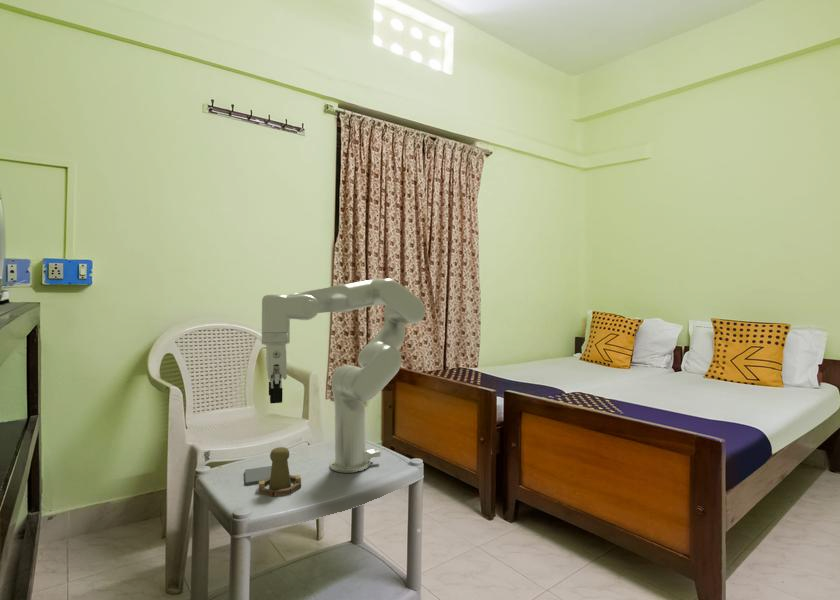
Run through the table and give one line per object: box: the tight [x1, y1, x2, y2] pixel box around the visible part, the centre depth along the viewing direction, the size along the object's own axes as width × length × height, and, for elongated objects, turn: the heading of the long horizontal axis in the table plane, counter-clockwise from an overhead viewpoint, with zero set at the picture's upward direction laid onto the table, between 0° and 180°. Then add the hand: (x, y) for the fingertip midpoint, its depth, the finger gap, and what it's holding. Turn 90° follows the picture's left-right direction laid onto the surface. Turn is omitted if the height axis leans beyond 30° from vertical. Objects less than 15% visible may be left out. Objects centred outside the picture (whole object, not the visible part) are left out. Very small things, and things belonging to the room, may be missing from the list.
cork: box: [268, 446, 292, 490], centre depth 129 cm, size 6×6×11 cm
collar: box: [258, 474, 302, 498], centre depth 129 cm, size 11×11×2 cm
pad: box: [244, 465, 272, 486], centre depth 137 cm, size 10×10×1 cm
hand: (275, 398), depth 129 cm, fingers open, 9 cm apart
